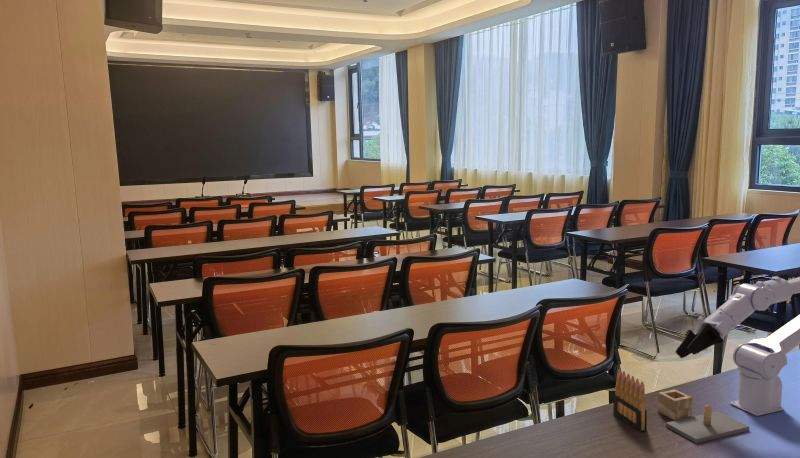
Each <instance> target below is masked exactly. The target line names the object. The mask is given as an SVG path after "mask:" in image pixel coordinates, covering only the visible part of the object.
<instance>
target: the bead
mask: <svg viewBox="0 0 800 458" xmlns="http://www.w3.org/2000/svg"><path fill="white" fill-rule="evenodd" d="M657 395H658V396H657V412H658V413H660V414H662V415H663V416H665V417H667V418H669V419H671V420H672V421H676V420H680V419H684V418H689V417H692V411H693V410H692V409H693V407H692V405H693V403H692V402H693V397H692V396H691V395H687V394H686V393H683V392H681V391H679V390H677V389H675V388H674V389H671V390H666V391H660V392H658V393H657Z"/></svg>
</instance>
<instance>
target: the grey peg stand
mask: <svg viewBox="0 0 800 458" xmlns="http://www.w3.org/2000/svg"><path fill="white" fill-rule="evenodd" d="M712 408H713V407H712V406H711V405H709V404H705V405H704V407H703V413H702V414H698V415H693V416H691V417H687V418H683V419H678V420H672V421H668V422H665V427H666V428H667V429H669V430H671V431H673V432H675V433H676V434H679V435H680V436H682V437H684V438H685V439H688V440H689V441H691V442H692V443H695V444H699V443H703V442H707V441H711V440H715V439H719V438H724V437H727V436H731V435H735V434H737V435H738V434H740V433H745V432H748V431H750V426H749V425H746V424H745V423H743V422H740V421H738V420H736V419H734V418H732V417H730V416H728V415H726V414H724V413H721V412H719V411H712Z"/></svg>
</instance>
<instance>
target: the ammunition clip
mask: <svg viewBox="0 0 800 458" xmlns="http://www.w3.org/2000/svg"><path fill="white" fill-rule="evenodd" d="M634 376H635V375H632V376H631V375H630V373H629V372H628V373H627V374H626V372H625V370H623V371H622V370H621V368H618V370H617V373H616V382H615V394H614V395H613V412H612V414H614V415H615V416H616V417H618V418H619V419H621V420H622V421H623V422H625V423H627V424H628V425H630V426H631V427H632V428H633V429H635V430H636V431H638V432H645V431H647V430H648V429H647V426H648V425H647V423H648V422H647V421H648V420H647V419H648V415H647V413H648V412H647V411H648V410H647V409H646V394H645V392H646V391H645V390H646V389H645V384H644V381H643V380H642V381H639V378H636V380H635V377H634Z"/></svg>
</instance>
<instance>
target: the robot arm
mask: <svg viewBox="0 0 800 458" xmlns="http://www.w3.org/2000/svg"><path fill="white" fill-rule="evenodd" d="M794 294H795V295H796V294H800V276H798V277H795V278H792V279H788V280H786V279H785V278H781V277H779V276H772V277H771V279H769V280H765V281H761V280H760V281H759V280H758V281H756V283H753V284H750V283H742V284H740V285H739V284H736V285H735V287H734V289H733V291H732V294H731V295H730V296H729V297H728V298H727V300H726V301H725V302H724V303H723V304H722V305H720V306H719V307H718V308H717V309H716V310H714V311H713V312H712V313H711V314H710V315H709V316H707V317H706V318H704V317H703V316H699V317H698V318H697V319H696V321H697V322H698V323H699V324H698V327H697V330H696V332H695V333H694V332H693V330H692V329H688V330H687V331H686V333H685V336H684V339H683V340H682V342H681V343H680V344H679V345H678V347H677V348H676V350H675V351H674V352H675V354H677V356H678V357H679V358H680V359H684V358H686V357H688V356H689V355H691V354H692V355H694V356H695V355H697V354H699V353H700V352H703V351H704V350H706V349H708V348H710V347H712V346H714V345H718V344H723V343H724V341H725V340H724V337H726V336H727V335H728V334H730V333H731V332H732V331H733V330H735V328H737V326H739V325H740V324H741V323H742V322H744V321H745V320H746V319H747V318H748V317H749V316H751V315H752V314H753V313H754V312H756V311H766V310H767V309H769V307H770V306H771V305H774V304H777V303H782V302H786V301H789V300H790V299H791V298H792V296H793V295H794ZM799 345H800V314H798V315H797V316H796V317H794V318H793V319H791V320H790V321H788V322H787V323H786V324H784V325H783V326H781V327H780V328H779V329H776V330H775V331H774V332H772V334H770V335H768V336H767V337H766V338H765V337H763V338H754V339H752V340H750V341H748V342H742V343H740V344H738V345H737V346H736V347H735V348H734V351H733V353H732V359H733V360H732V361H733V362H734V364H735V365H736V366H737V371H739V383H738V387H739V388H738V400H733V401H729V402H730V403H729V404H730V405H732V406H734V407H736V408H738V409H740V410H743V411H745V412H747V413H750V414H752V415H754V416H762V415H766V414H771V413H775V412H780V411H783V410H785V407H783V406H782V398H783V397H782V395H783V394H782V393H783V392H782V391H783V384H782V380H781V378H780V376H778V375H779V374H780V372H781V371H782V369H783V368H784V367H786V366H787V365H788V358H787V354H788V353H789V352H791V351H792V350H793V349H795V348H797V347H798V346H799Z"/></svg>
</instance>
